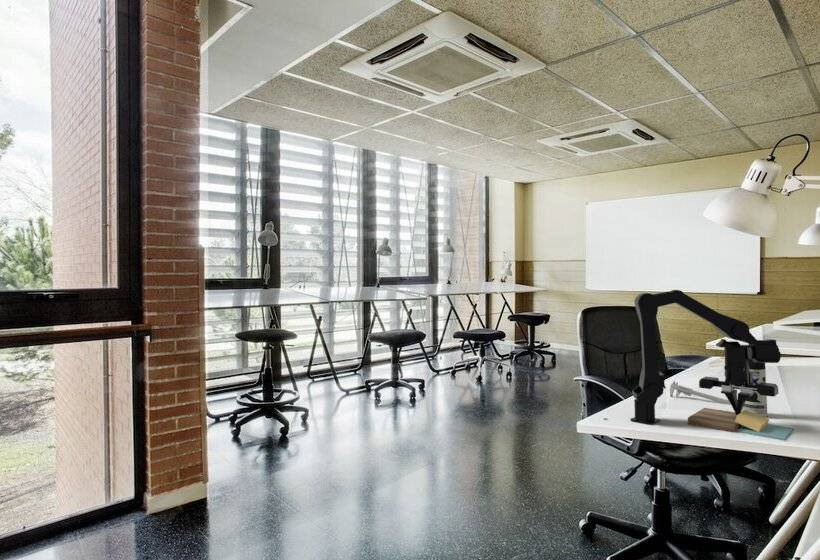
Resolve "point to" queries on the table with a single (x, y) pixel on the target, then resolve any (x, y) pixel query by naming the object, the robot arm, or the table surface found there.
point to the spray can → (756, 401)
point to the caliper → (694, 393)
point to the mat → (770, 431)
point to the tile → (751, 420)
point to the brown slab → (715, 419)
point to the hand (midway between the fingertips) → (738, 415)
